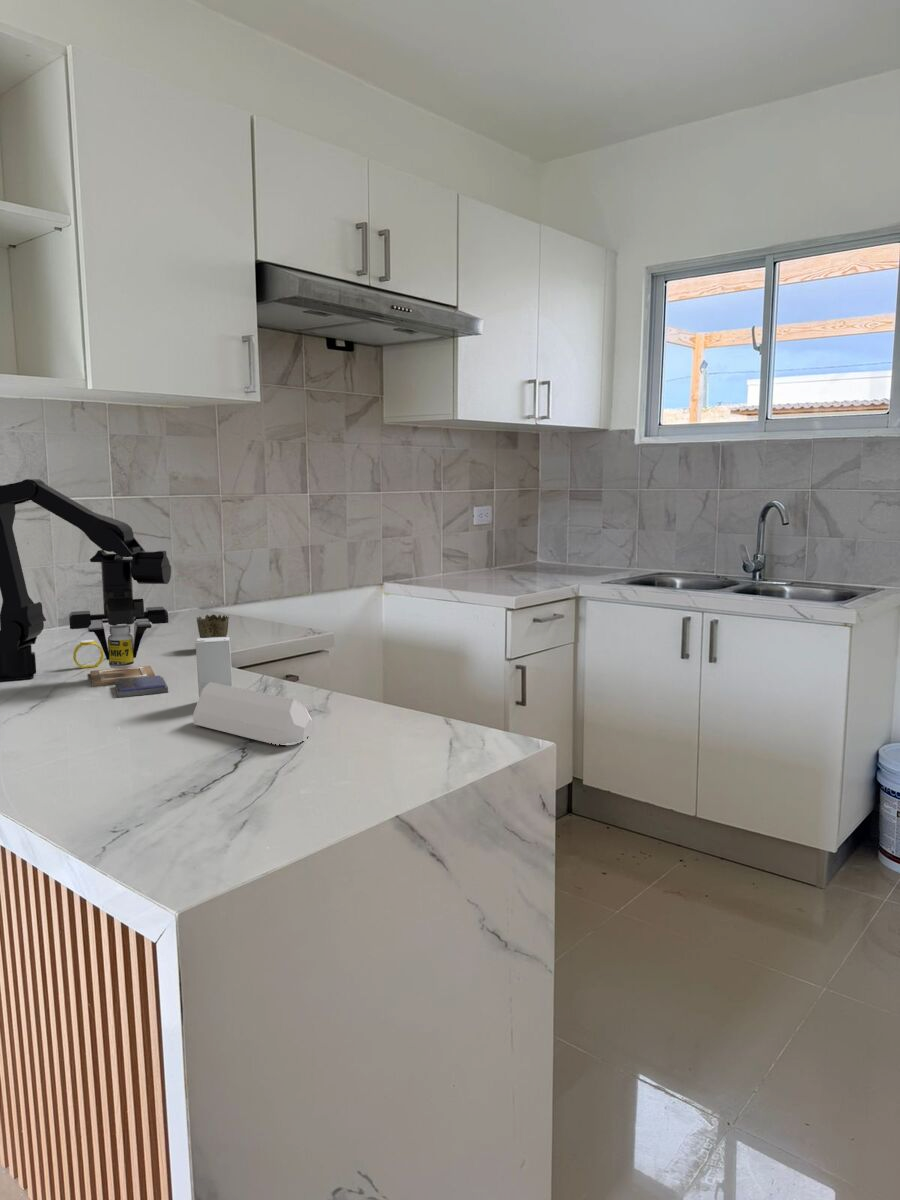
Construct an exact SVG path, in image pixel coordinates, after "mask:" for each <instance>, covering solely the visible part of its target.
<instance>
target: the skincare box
mask: <svg viewBox="0 0 900 1200" xmlns="http://www.w3.org/2000/svg"><path fill="white" fill-rule="evenodd" d="M230 640H231V638H230V636H227V637H215V638H200V637H198V638H196V640H195V643H194V644H195V655H196V657H195V659H196V671H197V672H196V673H197V685H198V699H199V698H200V695H201V692H202V690H203V688H204V687H205V686H206V685H207V684H208V683H210V682H213V683H217V684H222V685H227V686H232V687H234V686H233V671H232V670H233V669H232V655H231V641H230Z"/></svg>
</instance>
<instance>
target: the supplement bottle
mask: <svg viewBox="0 0 900 1200" xmlns="http://www.w3.org/2000/svg"><path fill="white" fill-rule="evenodd" d="M131 631H132V630H131V625H127V624H118V625H109V634H110V635H109V636H108V637H107V647H108V652H109V660H108V666H109V667H110V669H118V668H129V667H134V664H135V660H134V659H135V658H134V657H133V638H134V636H133V635H132V634H131Z"/></svg>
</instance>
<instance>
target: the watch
mask: <svg viewBox="0 0 900 1200" xmlns="http://www.w3.org/2000/svg"><path fill="white" fill-rule="evenodd" d="M93 645H94V646H96V647H97V648H98V649H99V651H100V657H99V659H98V661H97V662H96V663H95V664H90V665H82V664H80V663H79V662H78V660H77V652H78V650H79V649H80V648H82V647H83V646H93ZM104 657H105V653H104V651H103V648H102V646H101V645H99V644H98V643H96V642H95V639H84V640H81V641H80V642H79V644H78V645H76V647H75V648H74V650H73V653H72V658H73V662H75V664H76V665H77V666H78V667H80V669H90V668H97V667H98V666H100V665H101V664H102V662H103V659H104Z"/></svg>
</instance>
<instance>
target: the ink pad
mask: <svg viewBox="0 0 900 1200" xmlns="http://www.w3.org/2000/svg"><path fill="white" fill-rule="evenodd" d="M114 688H115V692H116V694H117V697H118V698H124V697H125V698H127V697H133V696H134V697H135V696H144V695H146V696H147V695H153V694H154V695H155V694H162V693H169V686H168V685H167V682H166V681H165V680H164V677H163V676H162V677H161V675H155V676H150V677H139V678H129V679H118V681H117V682H115V684H114Z"/></svg>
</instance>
